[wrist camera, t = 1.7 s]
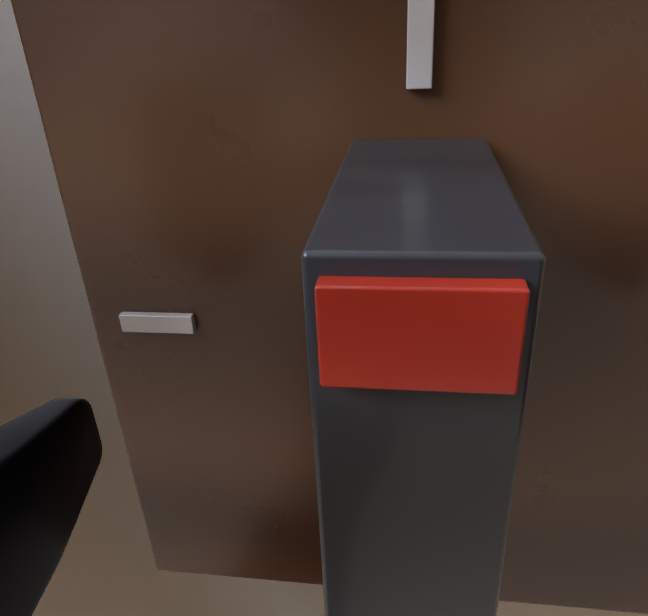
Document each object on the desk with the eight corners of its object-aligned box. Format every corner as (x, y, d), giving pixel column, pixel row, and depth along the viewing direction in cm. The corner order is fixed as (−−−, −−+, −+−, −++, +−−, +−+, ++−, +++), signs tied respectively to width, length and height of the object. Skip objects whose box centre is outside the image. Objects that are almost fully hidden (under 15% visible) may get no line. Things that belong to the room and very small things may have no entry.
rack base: (639, 511, 15) (689, 625, 12) (196, 482, 17) (154, 576, 14) (828, -166, 9) (1016, -241, 6) (83, -105, 10) (-35, -142, 8)
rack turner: (459, 473, 12) (484, 740, 7) (358, 467, 12) (327, 721, 8) (486, 137, 9) (555, 266, 4) (350, 139, 9) (293, 262, 5)
